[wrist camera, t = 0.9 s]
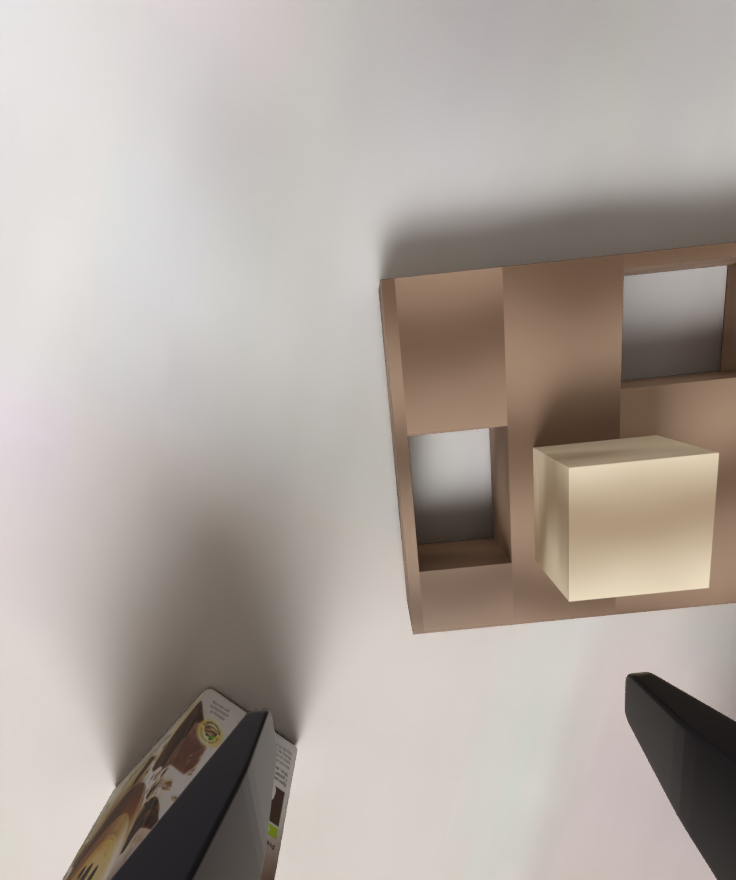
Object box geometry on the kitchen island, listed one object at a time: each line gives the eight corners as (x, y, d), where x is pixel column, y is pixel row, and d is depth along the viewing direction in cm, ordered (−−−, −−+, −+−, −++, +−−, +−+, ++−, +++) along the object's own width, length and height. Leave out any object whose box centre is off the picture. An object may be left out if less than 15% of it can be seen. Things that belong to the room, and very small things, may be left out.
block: (651, 548, 18) (708, 587, 15) (535, 560, 18) (568, 601, 15) (656, 435, 17) (718, 452, 14) (532, 447, 17) (568, 468, 14)
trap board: (906, 552, 21) (979, 578, 18) (407, 601, 21) (413, 634, 19) (965, 227, 18) (1063, 207, 15) (378, 289, 18) (381, 279, 15)
